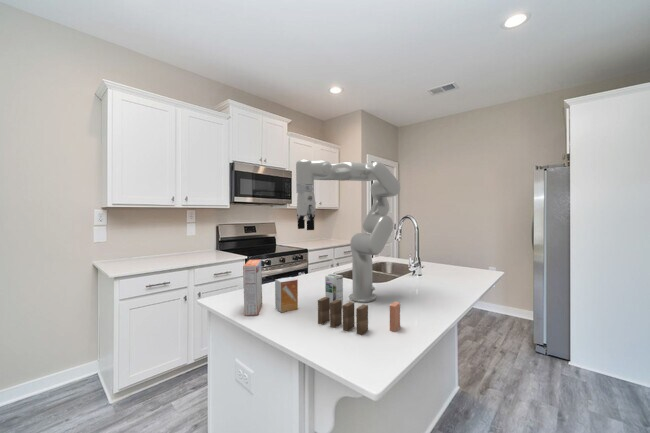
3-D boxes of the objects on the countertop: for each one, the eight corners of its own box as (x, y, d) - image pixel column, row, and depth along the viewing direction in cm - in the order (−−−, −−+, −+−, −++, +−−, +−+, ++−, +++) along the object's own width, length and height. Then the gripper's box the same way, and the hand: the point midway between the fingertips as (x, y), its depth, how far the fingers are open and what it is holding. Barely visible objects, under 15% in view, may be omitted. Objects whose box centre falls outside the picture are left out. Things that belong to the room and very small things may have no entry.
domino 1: (318, 323, 109) (317, 300, 109) (325, 319, 113) (325, 296, 113) (322, 324, 108) (322, 301, 108) (329, 320, 112) (329, 297, 112)
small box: (281, 312, 121) (280, 282, 121) (275, 308, 126) (274, 279, 126) (298, 309, 125) (297, 279, 125) (291, 305, 131) (291, 276, 130)
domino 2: (330, 326, 106) (329, 302, 106) (337, 322, 110) (337, 299, 110) (334, 328, 105) (334, 303, 105) (341, 323, 109) (341, 300, 109)
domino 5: (389, 330, 102) (389, 305, 102) (394, 325, 107) (394, 301, 106) (395, 331, 101) (395, 306, 101) (400, 327, 105) (400, 302, 105)
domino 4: (356, 334, 100) (356, 308, 100) (363, 329, 104) (362, 304, 104) (361, 335, 99) (361, 309, 99) (368, 330, 103) (367, 305, 103)
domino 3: (342, 330, 103) (342, 305, 103) (349, 325, 107) (349, 301, 107) (347, 331, 102) (347, 306, 102) (354, 326, 106) (354, 302, 106)
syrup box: (324, 308, 126) (324, 275, 125) (333, 305, 130) (333, 273, 130) (334, 311, 122) (334, 277, 122) (343, 308, 126) (343, 275, 126)
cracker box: (249, 304, 131) (248, 259, 131) (262, 304, 132) (262, 259, 131) (243, 316, 117) (242, 265, 117) (258, 315, 118) (257, 264, 117)
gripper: (322, 188, 117) (322, 230, 118) (305, 190, 133) (305, 227, 133) (305, 188, 114) (305, 231, 114) (289, 190, 129) (290, 228, 130)
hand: (305, 229), depth 124 cm, fingers open, 9 cm apart
